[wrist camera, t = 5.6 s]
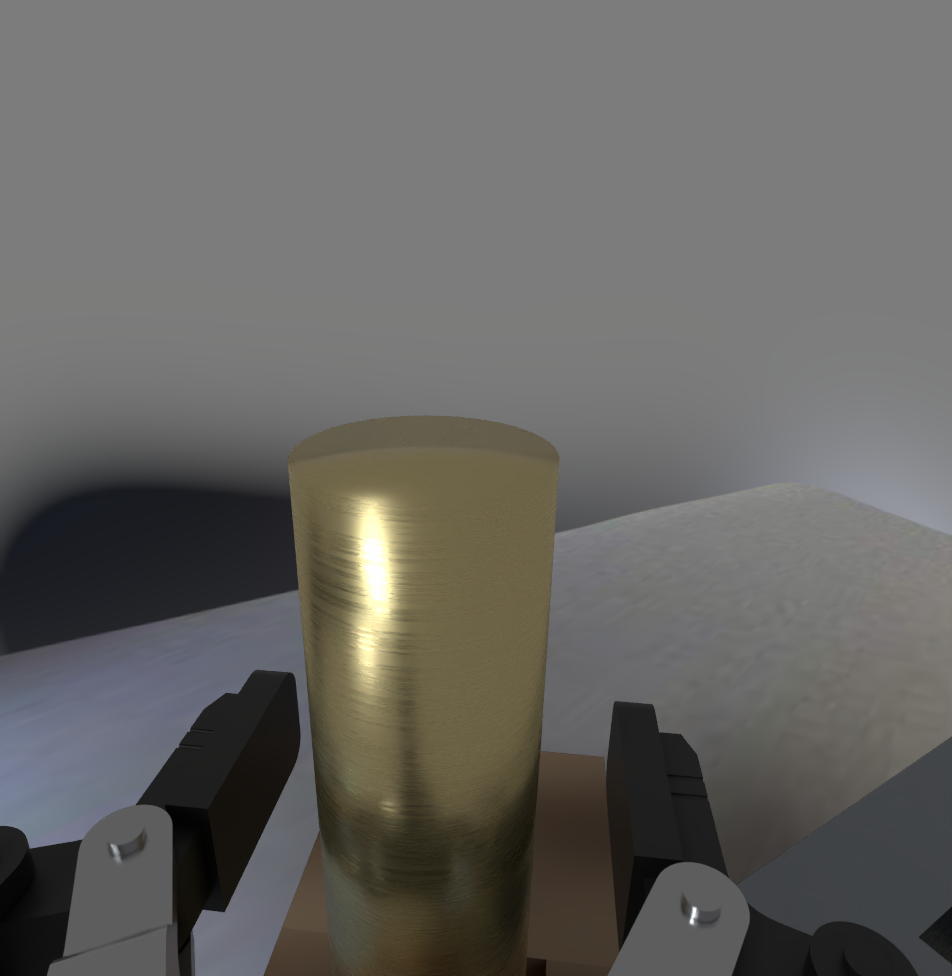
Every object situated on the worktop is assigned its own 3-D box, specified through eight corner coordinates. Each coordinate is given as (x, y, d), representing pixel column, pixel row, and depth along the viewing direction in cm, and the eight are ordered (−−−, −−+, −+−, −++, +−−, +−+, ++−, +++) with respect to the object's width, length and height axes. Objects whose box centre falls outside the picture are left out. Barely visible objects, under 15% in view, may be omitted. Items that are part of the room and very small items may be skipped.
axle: (323, 1110, 16) (254, 436, 10) (460, 1022, 18) (470, 405, 12) (392, 1307, 13) (351, 529, 7) (547, 1179, 15) (617, 469, 9)
